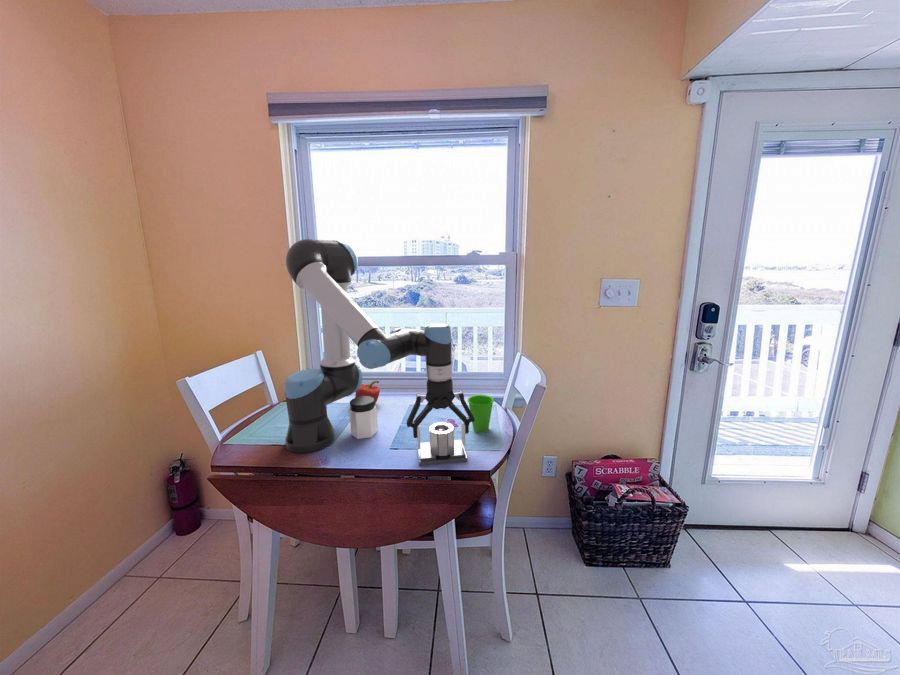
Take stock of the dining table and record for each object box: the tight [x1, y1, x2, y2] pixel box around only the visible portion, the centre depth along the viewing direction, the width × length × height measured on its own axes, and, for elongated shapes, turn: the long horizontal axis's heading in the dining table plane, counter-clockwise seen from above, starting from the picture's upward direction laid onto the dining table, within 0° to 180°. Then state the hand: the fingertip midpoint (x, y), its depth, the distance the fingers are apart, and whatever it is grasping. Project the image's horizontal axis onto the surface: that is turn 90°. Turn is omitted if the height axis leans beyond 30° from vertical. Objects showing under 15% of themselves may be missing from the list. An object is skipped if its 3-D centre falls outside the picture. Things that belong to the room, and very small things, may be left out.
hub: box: [429, 422, 455, 456], centre depth 103 cm, size 7×7×7 cm
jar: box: [348, 396, 379, 440], centre depth 118 cm, size 9×8×12 cm
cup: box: [467, 394, 495, 434], centre depth 119 cm, size 9×9×11 cm
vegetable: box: [354, 380, 381, 405], centre depth 142 cm, size 11×10×10 cm
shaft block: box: [417, 427, 468, 467], centre depth 104 cm, size 14×10×8 cm
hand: (441, 445), depth 104 cm, fingers open, 13 cm apart
